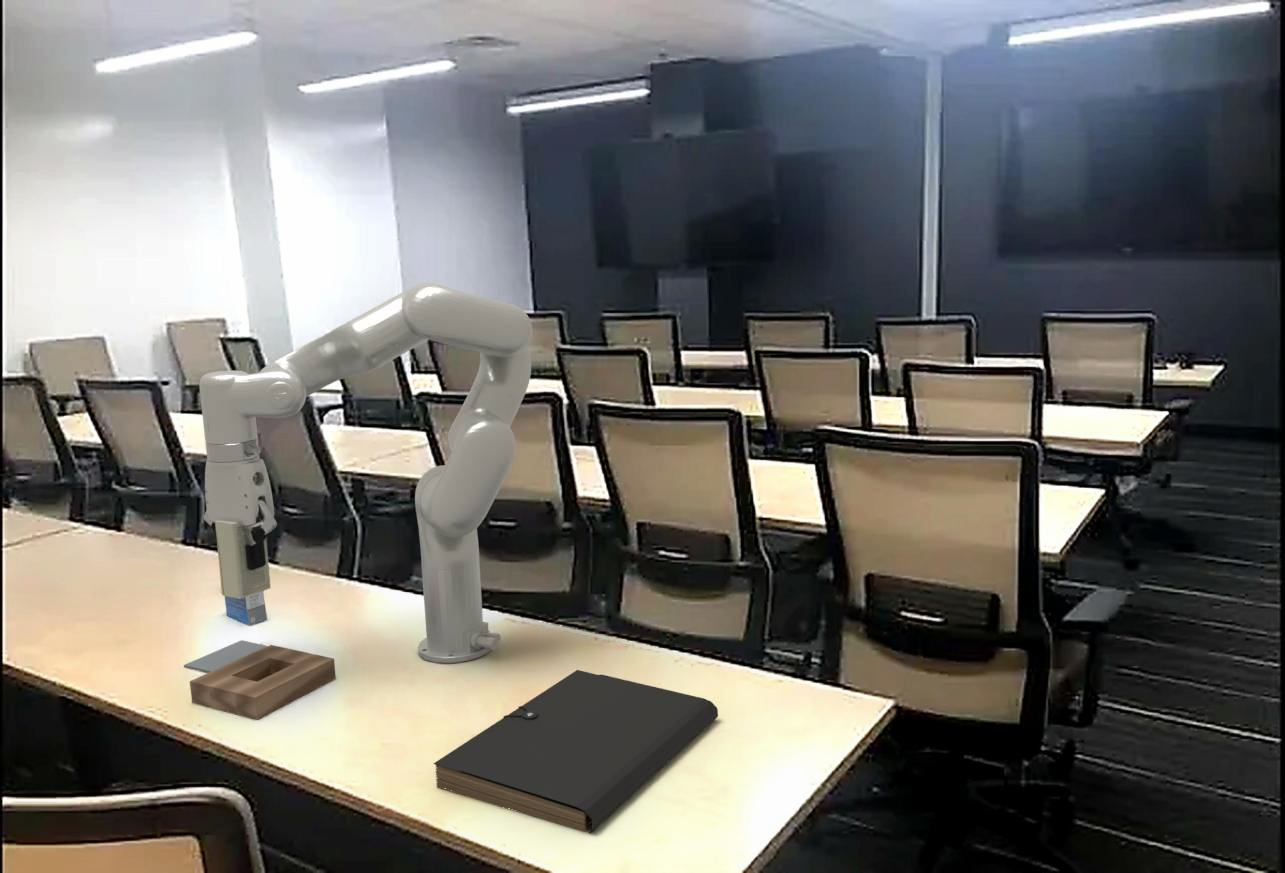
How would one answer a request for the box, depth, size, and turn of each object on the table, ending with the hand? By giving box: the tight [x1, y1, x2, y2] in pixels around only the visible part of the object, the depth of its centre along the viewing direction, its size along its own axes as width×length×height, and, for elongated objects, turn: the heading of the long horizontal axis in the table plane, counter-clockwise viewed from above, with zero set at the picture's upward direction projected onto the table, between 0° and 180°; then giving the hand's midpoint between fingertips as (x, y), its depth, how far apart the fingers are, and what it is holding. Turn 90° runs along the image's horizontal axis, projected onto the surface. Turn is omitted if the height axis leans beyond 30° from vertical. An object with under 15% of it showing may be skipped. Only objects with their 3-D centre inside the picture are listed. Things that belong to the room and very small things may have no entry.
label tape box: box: [224, 591, 268, 626], centre depth 198 cm, size 9×4×12 cm, turn 48°
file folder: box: [433, 669, 719, 834], centre depth 143 cm, size 33×4×24 cm
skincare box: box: [215, 520, 271, 599], centre depth 166 cm, size 6×4×12 cm
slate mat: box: [183, 640, 268, 674], centre depth 179 cm, size 12×12×1 cm
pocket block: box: [189, 644, 337, 721], centre depth 166 cm, size 14×16×4 cm
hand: (244, 564), depth 166 cm, fingers closed on skincare box, 4 cm apart
